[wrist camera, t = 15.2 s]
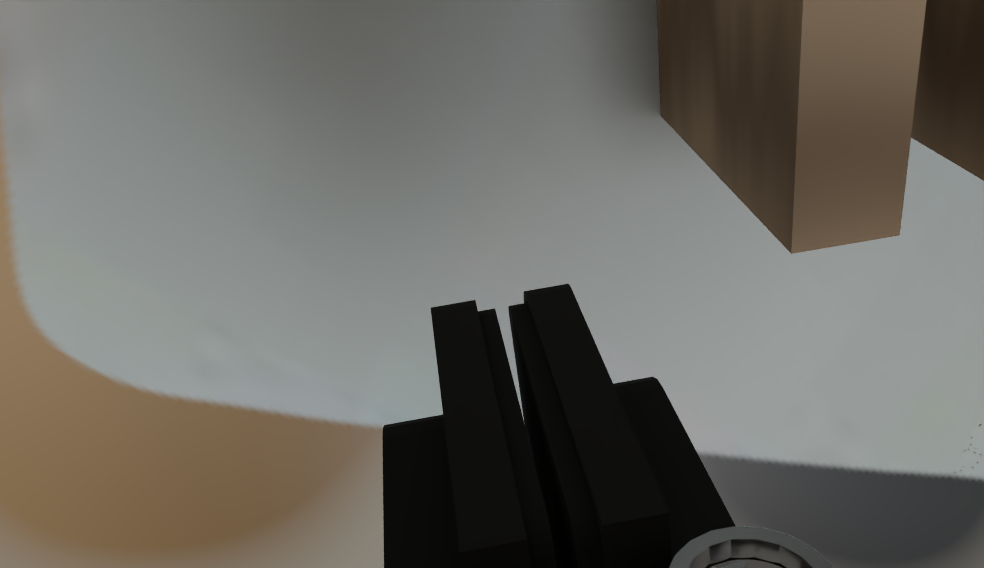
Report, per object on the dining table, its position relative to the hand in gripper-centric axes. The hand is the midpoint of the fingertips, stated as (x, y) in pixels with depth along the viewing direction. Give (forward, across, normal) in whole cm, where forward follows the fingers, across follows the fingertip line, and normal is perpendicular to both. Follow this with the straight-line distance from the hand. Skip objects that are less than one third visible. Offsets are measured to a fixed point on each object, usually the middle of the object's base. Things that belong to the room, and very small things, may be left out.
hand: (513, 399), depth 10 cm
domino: (+15, -7, -1) cm, 17 cm away
